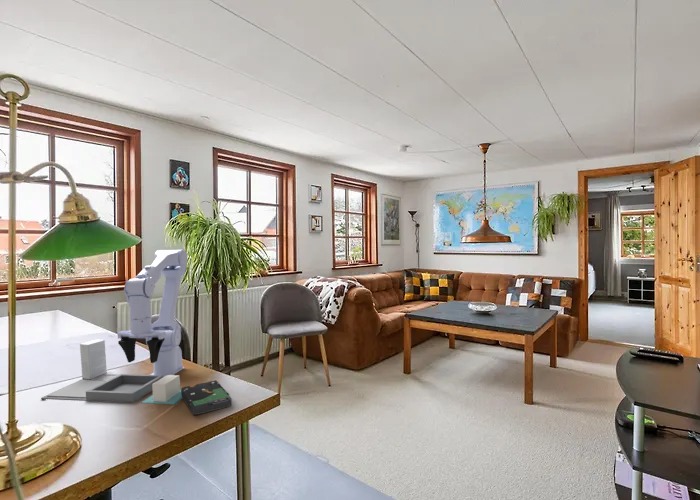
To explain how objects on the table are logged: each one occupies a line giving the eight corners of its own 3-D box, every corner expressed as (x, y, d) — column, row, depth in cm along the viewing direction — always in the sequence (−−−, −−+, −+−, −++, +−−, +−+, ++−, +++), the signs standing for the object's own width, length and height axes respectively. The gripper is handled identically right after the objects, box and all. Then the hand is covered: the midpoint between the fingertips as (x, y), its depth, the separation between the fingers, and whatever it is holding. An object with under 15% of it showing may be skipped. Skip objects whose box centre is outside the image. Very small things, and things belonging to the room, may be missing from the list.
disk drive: (180, 397, 111) (193, 416, 99) (180, 387, 111) (193, 405, 99) (216, 388, 117) (232, 405, 105) (216, 379, 117) (232, 395, 105)
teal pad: (163, 389, 118) (163, 388, 118) (193, 390, 116) (193, 389, 116) (141, 404, 108) (141, 402, 108) (173, 405, 107) (173, 403, 107)
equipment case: (80, 381, 126) (80, 372, 126) (163, 384, 122) (163, 375, 122) (41, 399, 113) (40, 389, 112) (133, 403, 108) (132, 393, 108)
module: (168, 391, 115) (167, 374, 115) (180, 391, 115) (179, 375, 115) (153, 401, 109) (152, 384, 108) (165, 401, 108) (165, 384, 108)
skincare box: (98, 372, 135) (96, 339, 134) (107, 373, 133) (105, 339, 133) (81, 378, 129) (79, 343, 129) (90, 379, 128) (88, 344, 127)
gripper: (109, 320, 113) (111, 365, 113) (153, 320, 111) (156, 366, 111) (126, 315, 120) (128, 357, 120) (168, 315, 118) (170, 358, 118)
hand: (142, 361), depth 116 cm, fingers open, 7 cm apart
